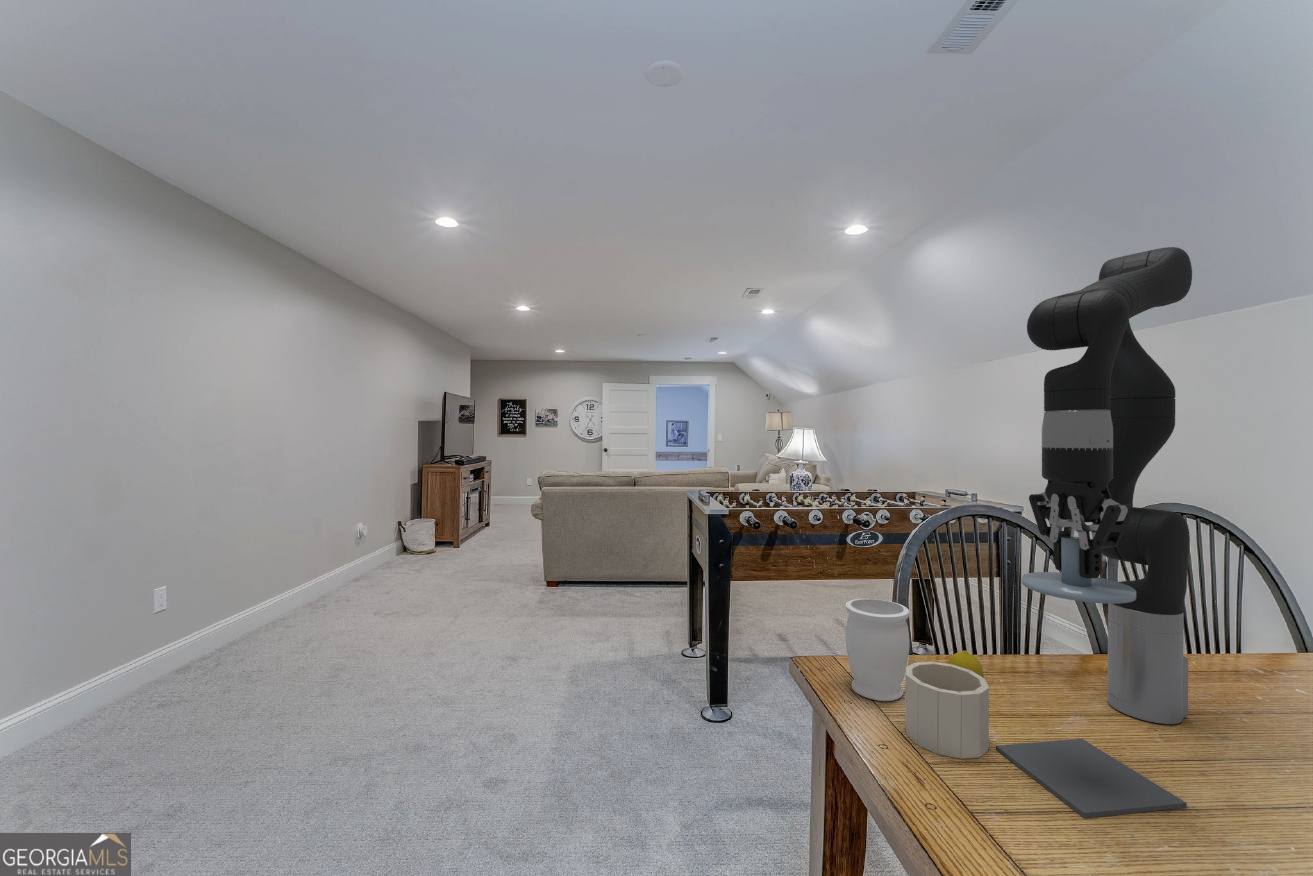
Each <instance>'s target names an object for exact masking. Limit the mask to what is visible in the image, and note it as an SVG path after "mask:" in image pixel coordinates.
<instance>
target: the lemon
mask: <svg viewBox="0 0 1313 876" xmlns="http://www.w3.org/2000/svg"><path fill="white" fill-rule="evenodd" d="M947 664H952V665H955V666H958V667H961V668H964V669H967V670H971V671H973V672H974V673H976V674H978V675H979V676H981V677H982V678H984V679H985V677H984V676H985V675H984V670H983V666H982V664H981V662H980V660H979V659H978V658H977V657H976V656H975V655H973V654H971V653H969V652H968V651H967V650H962V651H959V652H956V653H954V654H952V655H951V656H950V658H949V660H948V662H947Z"/></svg>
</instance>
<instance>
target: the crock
mask: <svg viewBox="0 0 1313 876" xmlns="http://www.w3.org/2000/svg"><path fill="white" fill-rule="evenodd" d="M904 702H905V714H904V715H905V719H904V720H905V723H904V724H905V734H906V735H907V736H908V737H909V738H910V739H911V740H912V741H913V742H915V744H916V745H918V746H919V747H921V748H924V749H926V750H929V751H930V752H933V753H934V754H936V755H940V756H945V757H951V758H955V759H961V760H962V759H975V758H981V757H982V756H984V755H985V754H986V753H987V752H988V751H990V750H989V748H990V747H989V745H990V744H989V743H990V742H989V741H990V740H989V739H990V737H989V736H990V735H989V734H990V733H989V728H990V727H989V725H990V721H989V719H990V716H989V715H990V704H989V703H990V687H989V685H988V683H987V679H986V678H985V677H984V678H982V677H981V676H979V675H978V674H976V673H974V672H973V671H971V670H967V669H964V668H961V667H958V666H955V665H952V664H948V663H945V662H937V661H917V662H914V663H912V664H909V665H907V666H906V672H905V701H904Z"/></svg>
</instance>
